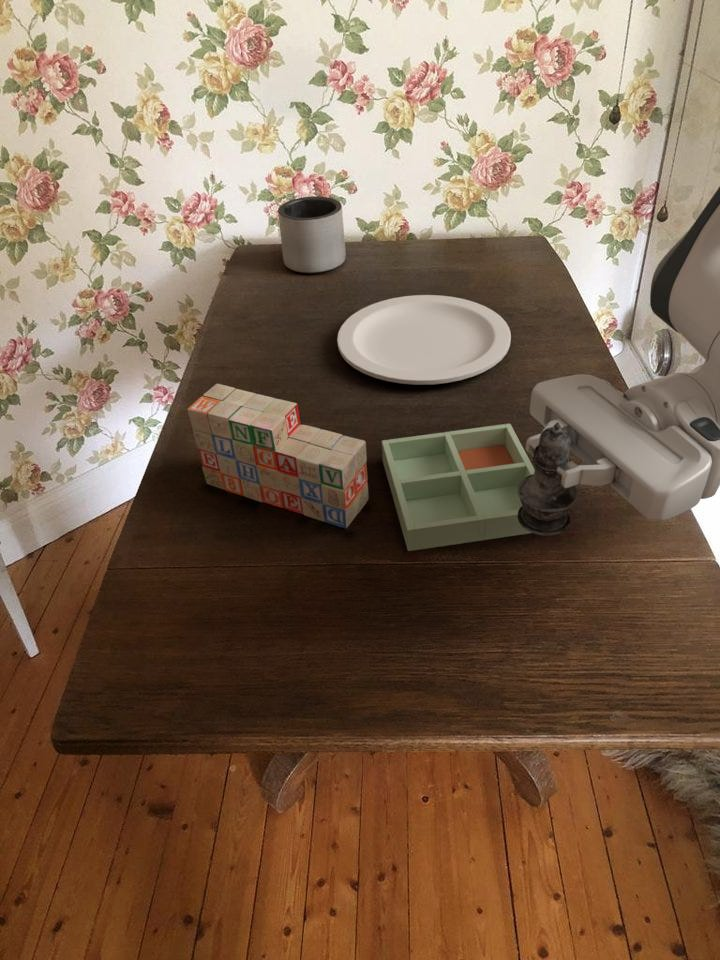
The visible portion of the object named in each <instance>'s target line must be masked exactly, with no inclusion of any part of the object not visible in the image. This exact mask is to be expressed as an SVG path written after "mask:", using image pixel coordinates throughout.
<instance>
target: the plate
mask: <svg viewBox="0 0 720 960" xmlns="http://www.w3.org/2000/svg"><path fill="white" fill-rule="evenodd" d="M511 340H512V335H511V329H510V327H509V325H508V323H507V322H506V320H505V319H504V318H503V317H502V316H501V315H500V314H498V313H497V312H496V311H495V310H493V309H491V308H489V307H487V306H485V305H483V304H480V303H478V302H475V301H473V300H469V299H465V298H461V297H455V296H448V295H437V294H416V295H415V294H414V295H406V296H404V295H403V296H399V297H392V298H388V299H384V300H381V301H377V302H375V303H372V304H369V305H367V306H365V307H362V308H361V309H359V310H358V311H356V312H354V313H353V314H351V315H350V316H349V317H348V318H347V319H346V320H344V322H343V324H342V325H341V326H340V328H339V330H338V333H337V338H336V342H337V348H338V351H339V354H340V355H341V357H342V358H343V359H344V361H345V362H346V363H347V364H348V365H349V366H350V367H352V368H353V369H355V370H357V371H358V372H360V373H362V374H364V375H366V376H369V377H372V378H375V379H378V380H381V381H385V382H390V383H395V384H396V383H397V384H402V385H415V386H416V385H417V386H418V385H419V386H421V385H440V384H448V383H453V382H458V381H463V380H466V379H469V378H472V377H475V376H478V375H480V374H482V373H484V372H486V371H488V370H490V369H492V368H493V367H495V366H496V365H497V364H499V363H500V362H501V361H502V360H503V359H504V357H505V356H507V354H508V352H509V349H510V347H511V342H512V341H511Z"/></svg>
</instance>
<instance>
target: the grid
mask: <svg viewBox="0 0 720 960" xmlns="http://www.w3.org/2000/svg"><path fill="white" fill-rule="evenodd" d="M528 456H529V455H527V452H526V450H525V449H524V447H523V445H522V443H521V442H520V439H519V438H518V436H517V434H516V432H515V430H514V427H513V426H512V424H511V423H502V424H495V425H487V426H481V427H473V428H466V429H458V430H450V431H444V432H436V433H428V434H423V435H415V436H407V437H399V438H391V439H384V440H381V457H382V458H381V459H382V464H383V467H384V471H385V475H386V478H387V481H388V485H389V489H390V492H391V496H392V499H393V503H394V507H395V510H396V513H397V518H398V520H399V524H400V528H401V531H402V535H403V538H404V542H405V545H406V549H407V552H412V551H420V550H426V549H433V548H440V547H447V546H454V545H461V544H467V543H475V542H481V541H488V540H493V539H500V538H501V539H502V538H508V537H516V536H521V535H530V534H532V533H531V532H529V531H527V530H526V529H525V528H523V527H522V526H521V524H520V523H519V521H518V518H517V516H518V511H519V509H520V507H521V506H522V503H521V500H520V498H519V495H518V492H517V491H518V485H519V483H520V482H521V481H522V480H523V479H524V478H525V477H527V476H529V475H532V474H534V472H535V467H534V465H533V463H532V462H531V460H530V458H529V457H528Z"/></svg>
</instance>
